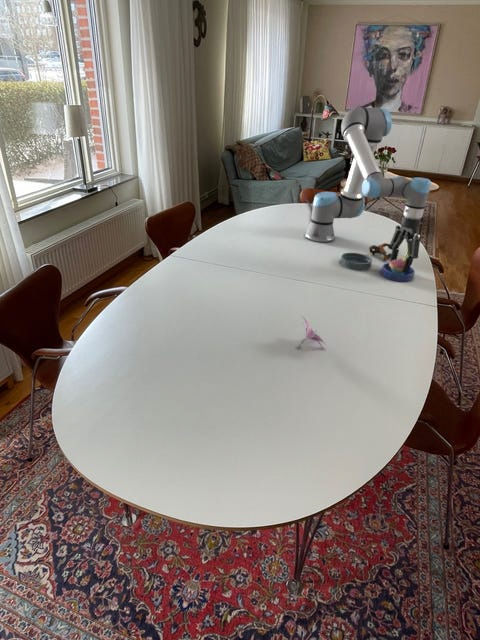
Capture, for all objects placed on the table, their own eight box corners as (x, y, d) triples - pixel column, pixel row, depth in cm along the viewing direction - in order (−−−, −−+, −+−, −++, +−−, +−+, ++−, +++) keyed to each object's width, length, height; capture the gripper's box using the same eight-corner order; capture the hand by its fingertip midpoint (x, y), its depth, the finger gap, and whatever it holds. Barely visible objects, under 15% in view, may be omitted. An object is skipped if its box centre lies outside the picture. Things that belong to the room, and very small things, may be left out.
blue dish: (374, 270, 196) (376, 264, 194) (399, 268, 200) (401, 261, 198) (393, 283, 184) (395, 276, 183) (419, 280, 189) (421, 273, 187)
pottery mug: (386, 254, 215) (395, 244, 209) (387, 269, 210) (397, 258, 203) (364, 247, 213) (373, 236, 206) (365, 262, 208) (374, 251, 201)
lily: (321, 363, 132) (337, 336, 130) (287, 346, 131) (303, 318, 129) (315, 352, 143) (329, 327, 142) (284, 336, 142) (298, 311, 140)
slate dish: (334, 260, 204) (336, 253, 202) (359, 257, 208) (361, 251, 207) (350, 271, 193) (351, 265, 191) (376, 269, 197) (378, 262, 196)
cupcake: (407, 273, 194) (414, 247, 188) (407, 280, 187) (414, 254, 181) (387, 269, 197) (393, 244, 191) (386, 276, 189) (393, 250, 183)
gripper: (388, 210, 186) (377, 259, 198) (422, 225, 169) (407, 278, 180) (403, 209, 189) (391, 257, 200) (437, 224, 171) (422, 276, 183)
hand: (399, 267), depth 190 cm, fingers open, 9 cm apart
